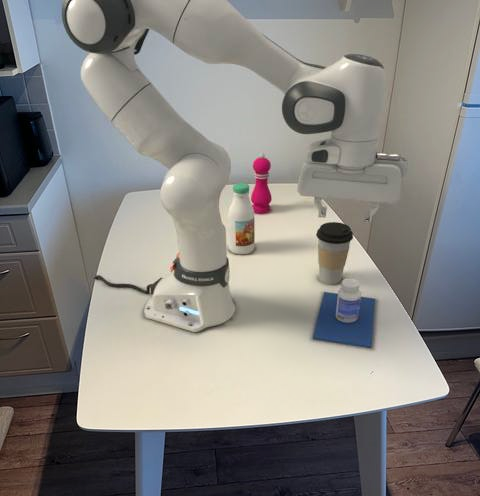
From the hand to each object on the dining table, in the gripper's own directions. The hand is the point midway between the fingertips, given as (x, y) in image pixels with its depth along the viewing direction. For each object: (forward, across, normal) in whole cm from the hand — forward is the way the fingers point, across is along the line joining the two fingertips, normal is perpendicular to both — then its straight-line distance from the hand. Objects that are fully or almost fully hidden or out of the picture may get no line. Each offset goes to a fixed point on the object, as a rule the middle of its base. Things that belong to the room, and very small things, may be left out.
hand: (344, 218), depth 101 cm
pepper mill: (+27, +32, -62) cm, 75 cm away
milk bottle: (+27, +31, -32) cm, 52 cm away
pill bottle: (+27, -3, -3) cm, 27 cm away
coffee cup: (+27, +3, -21) cm, 35 cm away
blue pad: (+27, -3, -3) cm, 27 cm away
